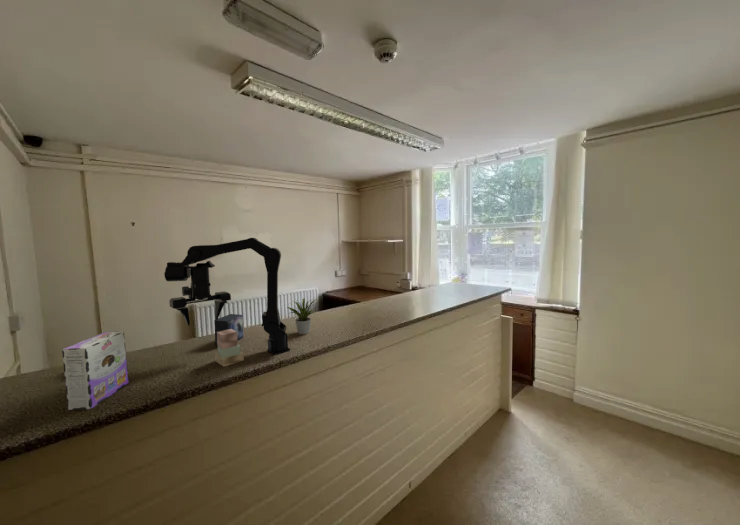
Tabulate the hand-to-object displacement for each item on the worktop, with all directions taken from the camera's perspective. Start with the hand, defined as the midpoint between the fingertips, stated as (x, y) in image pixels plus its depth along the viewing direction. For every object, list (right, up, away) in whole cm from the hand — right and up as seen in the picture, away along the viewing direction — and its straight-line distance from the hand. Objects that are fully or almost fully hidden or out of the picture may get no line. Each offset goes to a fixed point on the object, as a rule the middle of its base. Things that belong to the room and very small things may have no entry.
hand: (202, 322), depth 108 cm
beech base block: (+11, -14, -2) cm, 17 cm away
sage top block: (+11, -11, -2) cm, 15 cm away
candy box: (-14, -16, -25) cm, 33 cm away
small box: (+1, -12, +18) cm, 22 cm away
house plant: (+31, -10, +30) cm, 44 cm away
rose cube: (+10, -8, -3) cm, 13 cm away
